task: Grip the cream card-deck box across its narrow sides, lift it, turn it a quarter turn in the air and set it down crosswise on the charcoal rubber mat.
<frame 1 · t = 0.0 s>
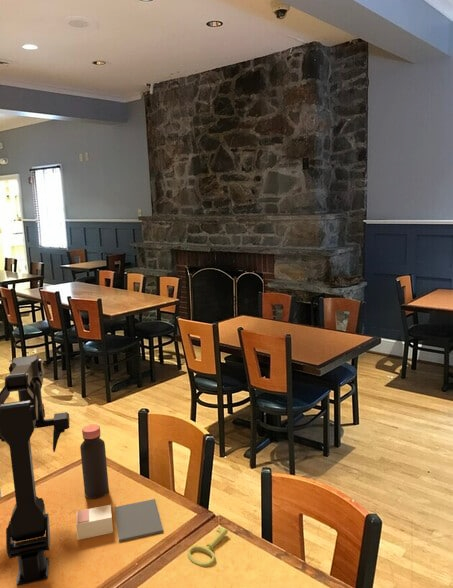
hand: (36, 454, 135), 15 cm above the table, fingers open, 9 cm apart
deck: (95, 529, 125), on the table
bottle: (96, 492, 142), on the table
mat: (138, 520, 128), on the table
key: (209, 551, 117), on the table
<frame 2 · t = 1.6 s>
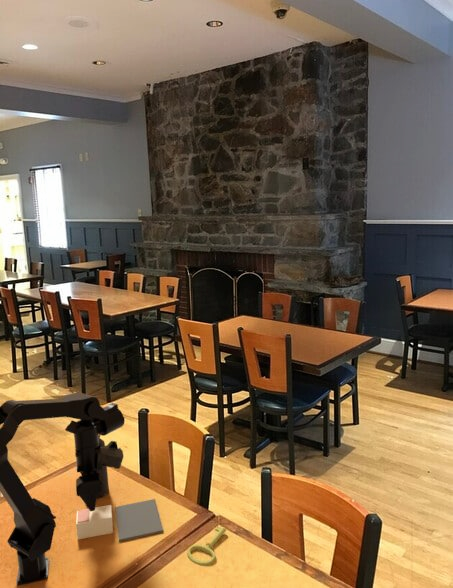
hand: (92, 500, 124), 8 cm above the table, fingers open, 9 cm apart
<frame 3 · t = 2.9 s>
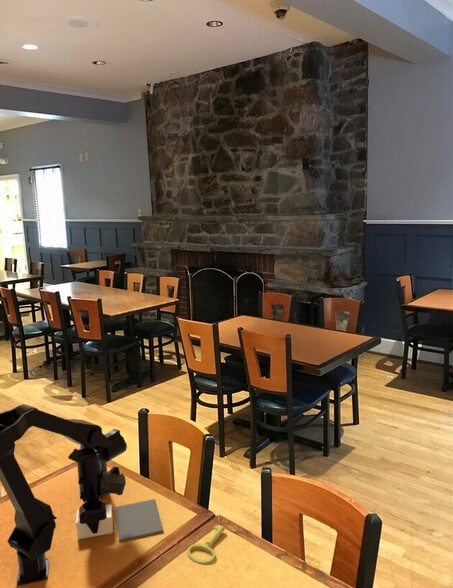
hand: (94, 525, 125), 1 cm above the table, fingers closed on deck, 6 cm apart
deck: (95, 529, 125), on the table, touching gripper
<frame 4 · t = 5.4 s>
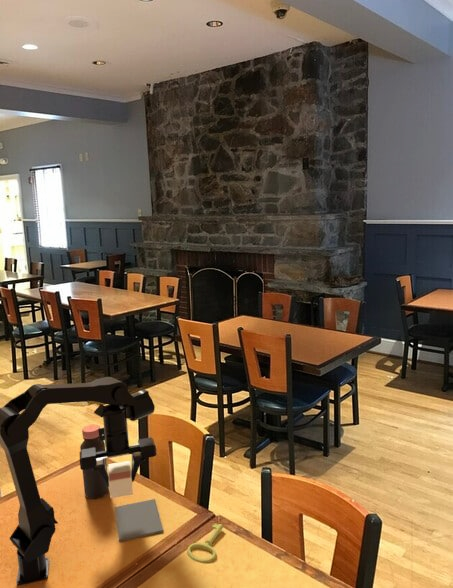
hand: (120, 483, 126), 11 cm above the table, fingers closed on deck, 6 cm apart
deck: (121, 486, 126), point 10 cm above the table, touching gripper
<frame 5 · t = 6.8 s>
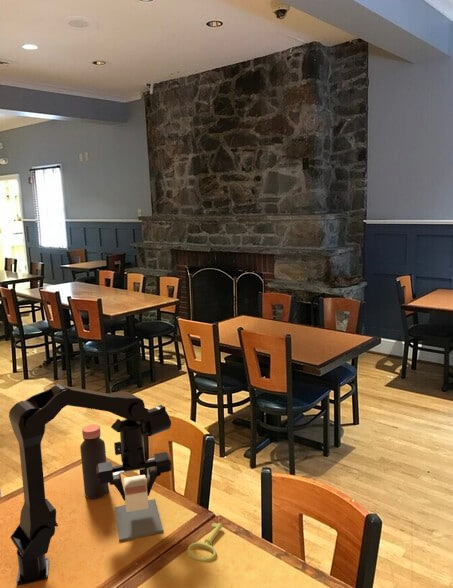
hand: (136, 497, 127), 7 cm above the table, fingers closed on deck, 6 cm apart
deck: (136, 500, 127), point 6 cm above the table, touching gripper
when the fingers open (3 cm above the table, at t = 8.1 s): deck drops 1 cm, resting on mat.
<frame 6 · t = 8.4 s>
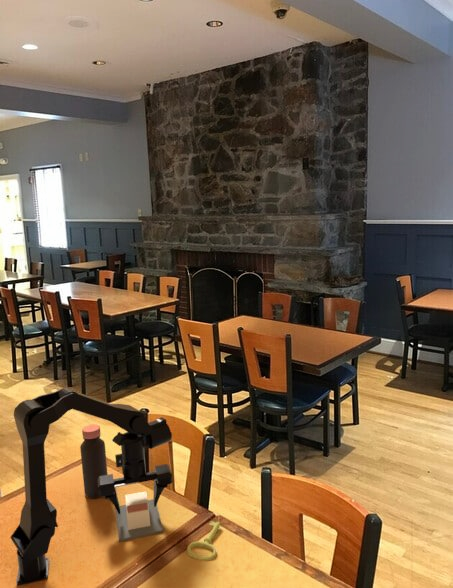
hand: (137, 509, 128), 3 cm above the table, fingers open, 9 cm apart
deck: (138, 517, 128), point 1 cm above the table, touching mat
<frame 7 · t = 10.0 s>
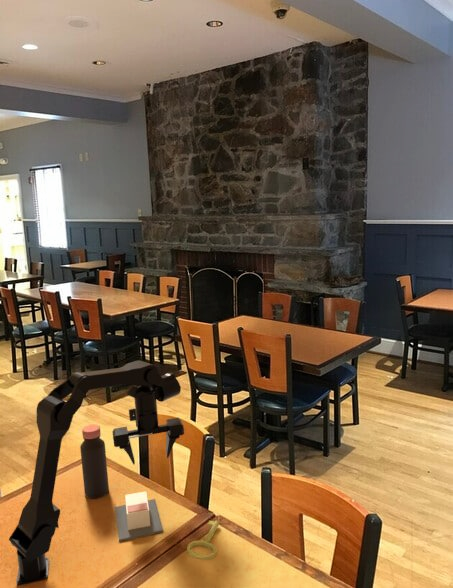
hand: (150, 460, 134), 13 cm above the table, fingers open, 9 cm apart
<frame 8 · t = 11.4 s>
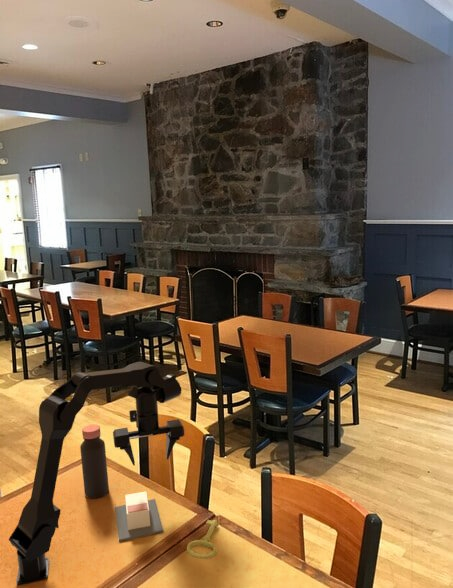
hand: (150, 461, 134), 12 cm above the table, fingers open, 9 cm apart
at the end: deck inside the target area on the mat (0.1 cm from its centre), point 0.6 cm above the mat's base; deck tilted 0°; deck touching mat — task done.
